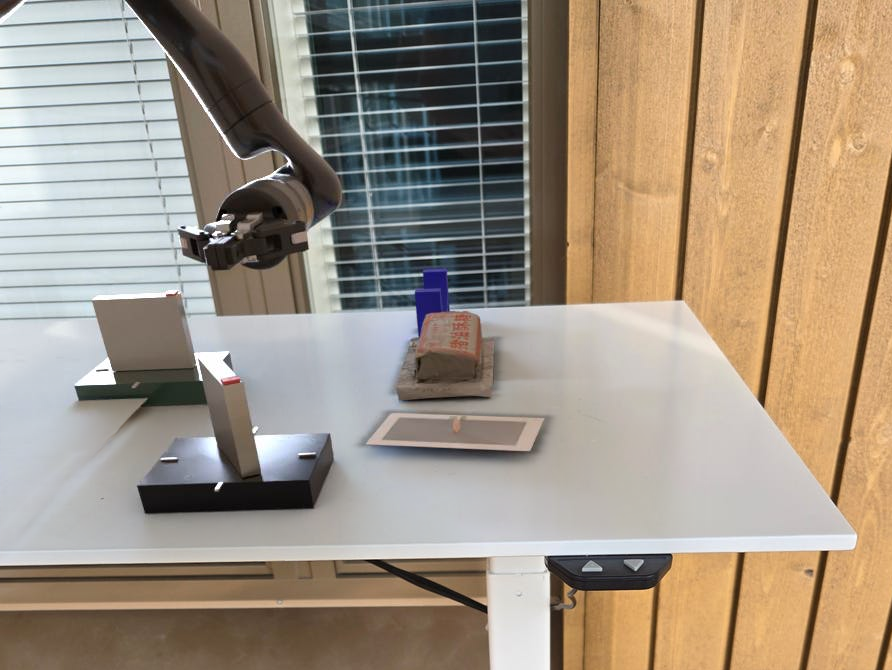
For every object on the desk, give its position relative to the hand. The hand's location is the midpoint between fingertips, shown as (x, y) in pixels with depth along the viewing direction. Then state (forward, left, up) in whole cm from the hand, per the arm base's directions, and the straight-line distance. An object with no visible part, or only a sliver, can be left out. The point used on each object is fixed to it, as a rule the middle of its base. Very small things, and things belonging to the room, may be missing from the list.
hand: (217, 258), depth 77 cm
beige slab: (-14, +14, -13) cm, 24 cm away
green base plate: (-14, +14, -16) cm, 25 cm away
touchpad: (+20, -4, -16) cm, 26 cm away
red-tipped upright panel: (+2, -12, -13) cm, 18 cm away
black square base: (+2, -12, -16) cm, 20 cm away
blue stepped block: (+16, +34, -16) cm, 41 cm away
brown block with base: (+18, +16, -16) cm, 29 cm away
